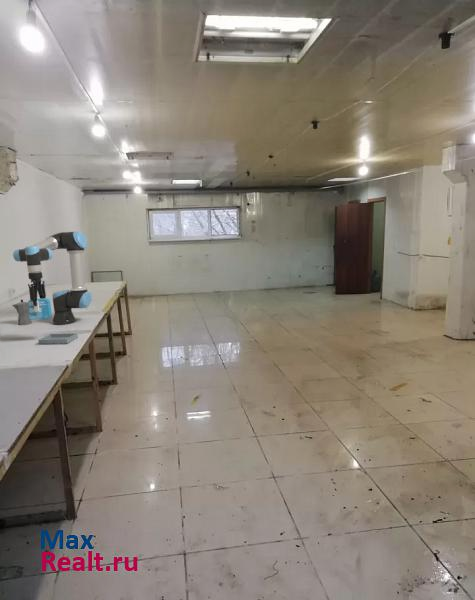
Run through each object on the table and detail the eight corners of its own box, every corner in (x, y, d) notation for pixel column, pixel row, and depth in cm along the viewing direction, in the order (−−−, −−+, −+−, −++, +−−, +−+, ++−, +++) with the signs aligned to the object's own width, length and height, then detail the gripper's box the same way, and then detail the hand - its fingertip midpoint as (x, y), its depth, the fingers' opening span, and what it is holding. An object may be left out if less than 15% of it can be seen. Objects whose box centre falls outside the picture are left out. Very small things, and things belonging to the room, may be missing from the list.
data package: (29, 320, 255) (26, 300, 253) (31, 318, 259) (29, 299, 257) (50, 318, 257) (47, 299, 254) (52, 317, 261) (49, 298, 259)
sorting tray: (50, 338, 264) (50, 333, 263) (77, 337, 262) (77, 333, 261) (38, 344, 250) (38, 339, 250) (67, 344, 249) (66, 339, 248)
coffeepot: (15, 326, 302) (11, 301, 299) (14, 324, 310) (11, 300, 307) (39, 323, 310) (35, 298, 307) (37, 320, 318) (34, 297, 315)
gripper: (37, 270, 262) (42, 307, 266) (19, 274, 244) (25, 313, 248) (49, 270, 261) (53, 306, 266) (31, 273, 243) (37, 313, 247)
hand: (39, 310), depth 257 cm, fingers closed on data package, 5 cm apart
